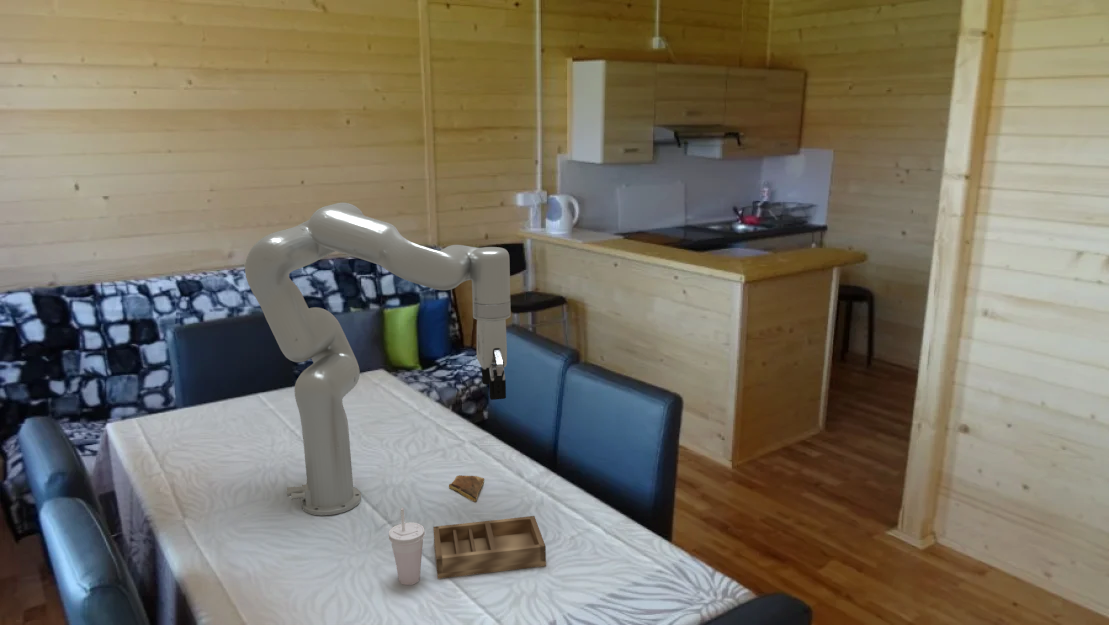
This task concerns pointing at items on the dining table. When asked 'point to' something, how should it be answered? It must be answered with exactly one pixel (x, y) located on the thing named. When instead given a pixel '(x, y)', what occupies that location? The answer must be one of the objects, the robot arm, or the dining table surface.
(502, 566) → the wooden shelf
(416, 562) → the smoothie
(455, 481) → the shard
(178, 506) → the dining table surface
